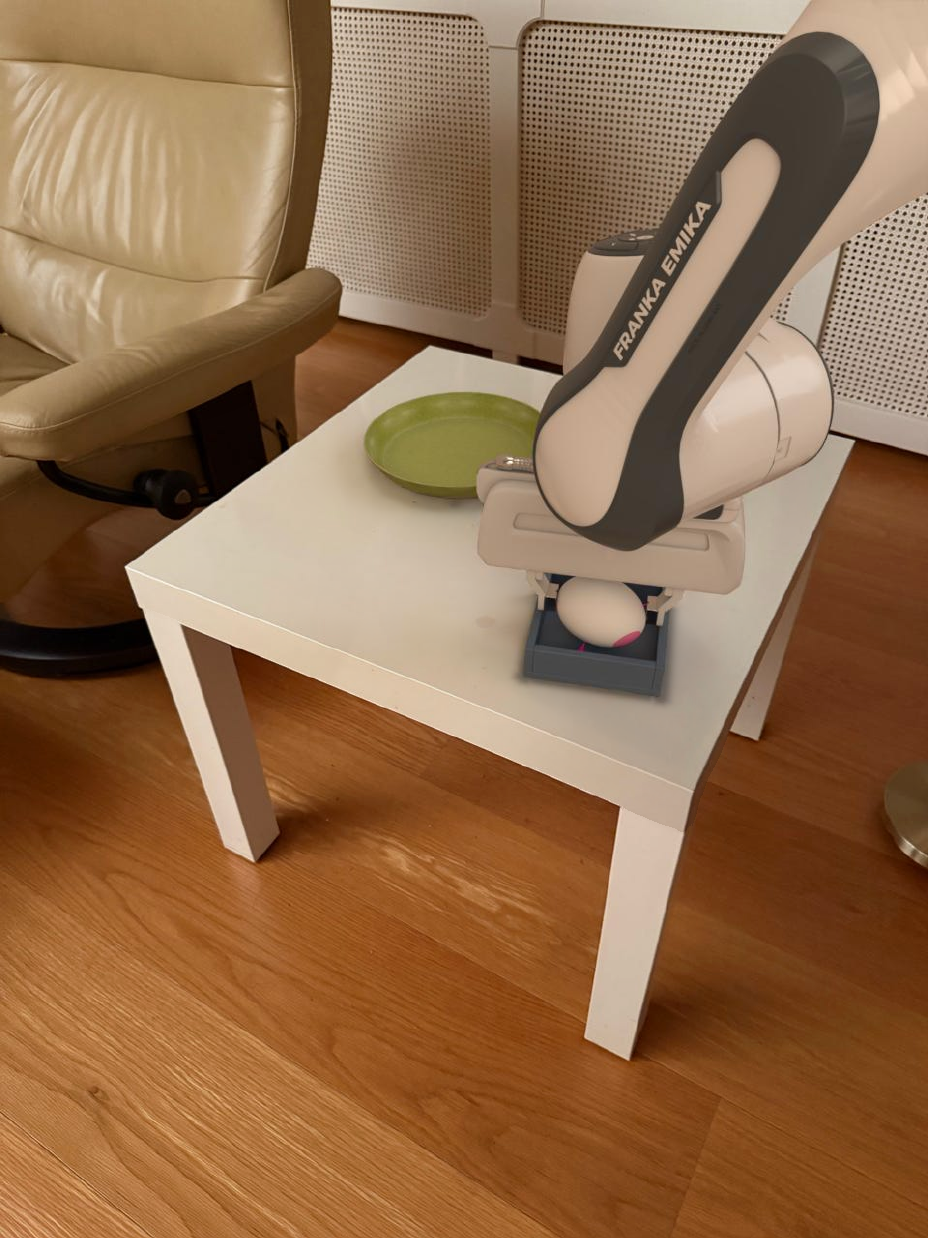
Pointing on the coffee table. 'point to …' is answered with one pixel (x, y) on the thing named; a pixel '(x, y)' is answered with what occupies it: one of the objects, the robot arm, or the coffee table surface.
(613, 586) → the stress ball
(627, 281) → the robot arm
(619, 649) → the slate tray
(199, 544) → the coffee table surface
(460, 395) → the saucer
